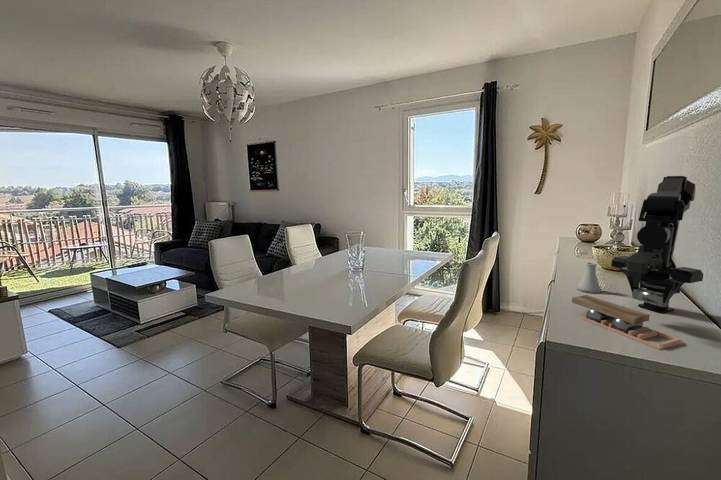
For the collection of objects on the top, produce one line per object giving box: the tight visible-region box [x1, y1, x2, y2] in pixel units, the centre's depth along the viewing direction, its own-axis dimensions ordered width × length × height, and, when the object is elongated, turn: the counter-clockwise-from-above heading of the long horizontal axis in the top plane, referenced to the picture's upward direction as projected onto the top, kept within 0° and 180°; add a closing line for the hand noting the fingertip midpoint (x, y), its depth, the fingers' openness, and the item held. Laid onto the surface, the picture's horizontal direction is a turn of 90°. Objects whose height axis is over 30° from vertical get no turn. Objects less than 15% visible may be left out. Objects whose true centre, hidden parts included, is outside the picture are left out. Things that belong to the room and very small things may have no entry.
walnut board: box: [571, 294, 651, 324], centre depth 95 cm, size 6×17×2 cm, turn 20°
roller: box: [631, 286, 670, 307], centre depth 93 cm, size 4×7×4 cm, turn 21°
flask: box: [576, 262, 602, 294], centre depth 122 cm, size 7×7×10 cm
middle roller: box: [611, 319, 644, 333], centre depth 90 cm, size 7×4×4 cm, turn 110°
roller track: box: [580, 313, 685, 351], centre depth 90 cm, size 9×20×1 cm, turn 20°
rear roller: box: [585, 309, 614, 323], centre depth 97 cm, size 7×4×4 cm, turn 110°
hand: (649, 298), depth 93 cm, fingers closed on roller, 7 cm apart
